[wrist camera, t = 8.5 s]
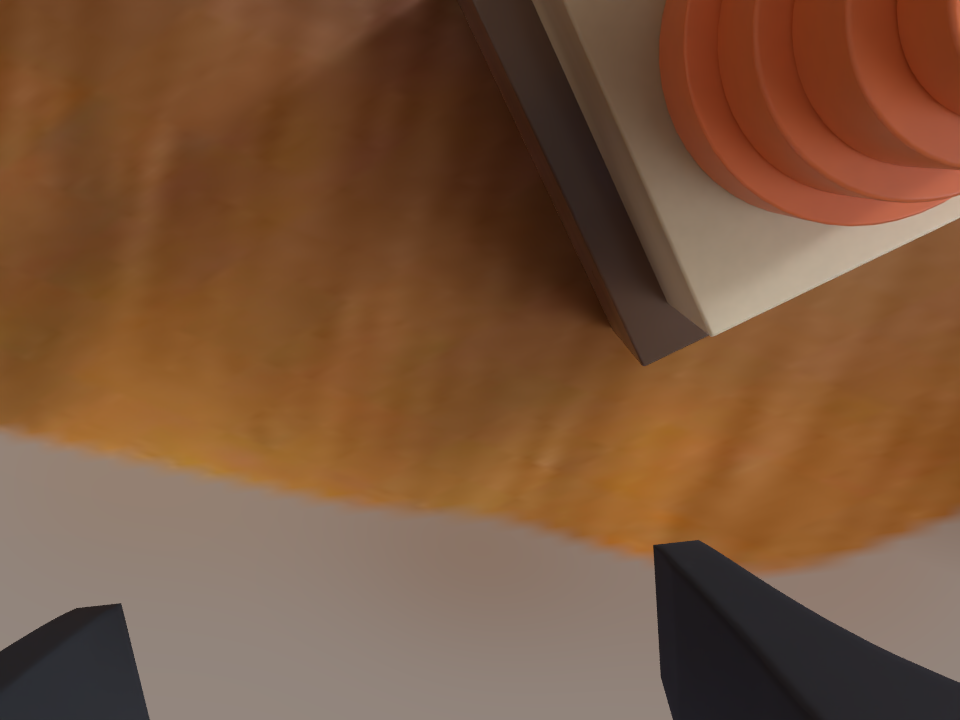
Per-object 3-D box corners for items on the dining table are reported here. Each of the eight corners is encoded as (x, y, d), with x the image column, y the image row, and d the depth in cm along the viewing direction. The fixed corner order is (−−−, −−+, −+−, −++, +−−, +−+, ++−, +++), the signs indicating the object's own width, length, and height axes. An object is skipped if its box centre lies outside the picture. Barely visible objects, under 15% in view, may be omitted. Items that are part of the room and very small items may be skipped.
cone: (993, 196, 14) (1337, 233, 8) (668, 235, 14) (802, 296, 8) (1010, -173, 12) (1435, -412, 7) (647, -128, 12) (793, -334, 7)
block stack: (952, 165, 20) (1180, 176, 14) (613, 330, 21) (680, 413, 14) (822, -220, 18) (1022, -418, 11) (448, -18, 19) (444, -98, 12)
